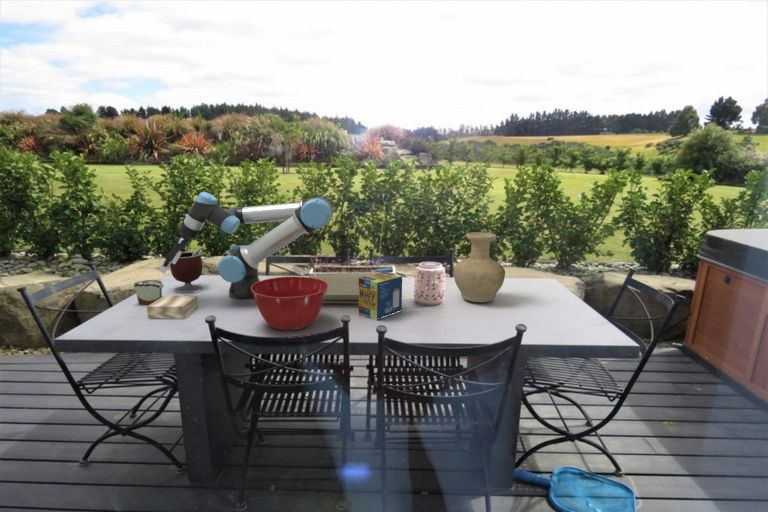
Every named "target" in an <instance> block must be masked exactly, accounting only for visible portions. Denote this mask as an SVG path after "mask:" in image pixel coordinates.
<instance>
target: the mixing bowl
mask: <svg viewBox="0 0 768 512" xmlns="http://www.w3.org/2000/svg"><path fill="white" fill-rule="evenodd" d="M328 288H329V283H327V281H325V280H323V279H319V278H315V277H311V276H294V275H293V276H279V277H272V278H266V279H263V280H260V281H259V282H257V283H255V284H253V285H252V286H251V291H252V292H253V296H254V298H253V299H254V301H255V304H256V306H257V309H258V311H259V313H260V314H261V316H262V318H263V319H264V321H265V323H267V324H268V325H269V326H271V327H273V328H274V329H276V330H279V329H281V330H280V331H287V330H289V331H296V330H295V329H299V330H301V329H300V328H302V329H304V328H303V327H305V326H307V327H308V326H309V325H311V324H312V323H313V322H314V321H315V320H316V319H317V317H318V315H319V313H320V311H321V309H322V306H323V304H324V301H325V298H326V294H327V290H328ZM305 328H306V327H305Z"/></svg>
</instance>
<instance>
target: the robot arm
mask: <svg viewBox="0 0 768 512" xmlns="http://www.w3.org/2000/svg"><path fill="white" fill-rule="evenodd" d="M217 203H218V199H217V198H216V197H215V196H214V195H213V194H211V193H209V192H205V191H201V192H200V193H199V195H198V196H197V197H196V199H194V202H193V204H192V206H191V207H190V209H189V211H188V213H186V214H185V215H184V216H185V218H184V220H183V221H182V222H181V224H180V226H179V227H178V231H179V233H181V234H180V235H179V236H178V237H177V240H176V241H175V242H174V244H173V246H172V247H171V249H170V250H169V252H168V253H167V254H166V255H164V256H163V258H164V260H163V262H162V263H161V265H160V267H159V268H158V272H160V273H162V274H164V275H165V274H166V273H167V271H168V269H169V268H170V264H171V263H173V264H176V262H177V260H178V259H179V257H180V255H181V254H182V253H183V252H186V247H187V246H188V244H189V242H190V241H191V239H196V238H197V236H198V235H199V233H200V231H201V230H202V228H203V226H204V225H205V223H206V221H208V222H209V223H211V224H212V225H214V226H216V227H217V228H218V229H220V230H221V231H223V232H225V233H226V234H228V235H229V234H230V235H231V234H233V233H234V232H235V231H237V229H238V227H239V226H240V225H247V224H248V225H249V224H259V223H260V224H261V223H270V222H272V223H273V222H281V223H280V224H279V225H277V226H276V227H274V228H273V229H271V230H270V231H268V232H266V233H265V234H264V235H262V236H261V237H259V238H258V239H256V240H255V241H253V242H252V243H250V244H248V245H246V244H245V245H231V246H230V248H229V249H230V250H229V252H230V253H228V254H227V255H225V256H223V257H222V258H220V260H219V262H218V264H217V265H218V266H217V272H218V274H219V276H220V277H221V278H222V280H225V282H227V283H230V285H229V289H228V296H229V297H230V298H232V299H239V300H245V299H246V300H247V299H254V296H253V292H252V291H251V286H252V285H253V284H255V283H257V282H259V281H261V280H260V278H259V264H260V263H261V262H263V261H265V260H266V259H267V258H269V257H270V256H272V255H273V254H275V253H277V252H278V251H280V250H281V249H282V248H284V247H286V246H288V245H290V244H291V243H292V242H293V241H295V240H296V239H298V238H299V237H301V236H303V235H304V234H308V235H310V234H312V233H314V232H315V231H317V230H318V229H320V228H323V227H325V226H326V225H327V224H328V223H329V221H330V219H331V218H332V217H333V214H334V207H333V204H332V202H331V201H330V200H329V199H328V198H326V197H323V196H316V197H313V198H306V199H305V198H304V199H301V200H300V201H298V202H288V203H277V204H265V205H264V204H263V205H254V206H241V207H237V206H235V207H234V206H233V207H230V208H228V209H224V208H222V207H220V206H219V205H218V204H217Z"/></svg>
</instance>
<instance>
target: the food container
mask: <svg viewBox="0 0 768 512" xmlns="http://www.w3.org/2000/svg"><path fill="white" fill-rule="evenodd" d="M133 288H135V294H136V298H137V303H138V307H139V306H144V307H145V306H146V307H147V306H149V305H150V304H152V303H153V302H155V301H156V300H158V299H159V298H161V297H163V293H162V292H163V288H164V283H163V282H162V280H159V279H147V280H145V279H144V280H139V281H135V282H134V283H133Z"/></svg>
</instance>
